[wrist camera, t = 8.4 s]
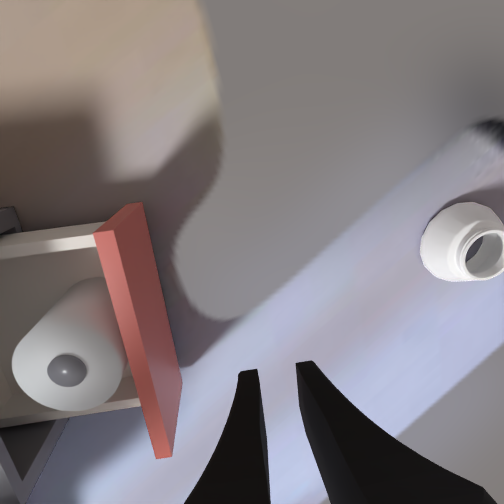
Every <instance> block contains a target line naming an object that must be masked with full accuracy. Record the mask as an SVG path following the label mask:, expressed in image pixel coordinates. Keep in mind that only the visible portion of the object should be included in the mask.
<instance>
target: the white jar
mask: <svg viewBox="0 0 504 504" xmlns="http://www.w3.org/2000/svg"><path fill="white" fill-rule="evenodd" d="M483 235H484V236H483ZM481 236H483V242H482V245H481V247H480V248H479V250H478V252H477V253H476V254H475V255H474V256H473V257H472V258H471V259H470V260H469V261H467V262H465V258H466V254H467V251H468V249H469V247H470V246H471V245H472V243H473V242H474V241H475V240H477V239H478V238H479V237H481ZM420 255H421V258H422V261H423V264H424V266H425V267H426V268H427V269H428V270H429V271H430V272H431V273H432V274H433V275H434V276H435V277H437V278H440V279H443V280H447V281H450V282H451V281H473V280H488V279H491V278H494V277H496V276H497V275H499V274H500V273H502V272H503V271H504V225H503V223H502V222H501V220H500V218H499V217H498V216H497V215H496V214H495V213H494V212H493V210H492V209H491V208H489V207H486V206H484V205H481V204H478V203H475V202H465V203H456V204H454V205H452V206H450V207H448V208H446V209H444V210H442V211H441V212H440V213H439V214H438V215H437V216H436V217H434V218H433V219H432V220H431V221H430V222H429V224H428V226H427V228H426V230H425V232H424V234H423V236H422V238H421V247H420Z"/></svg>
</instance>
